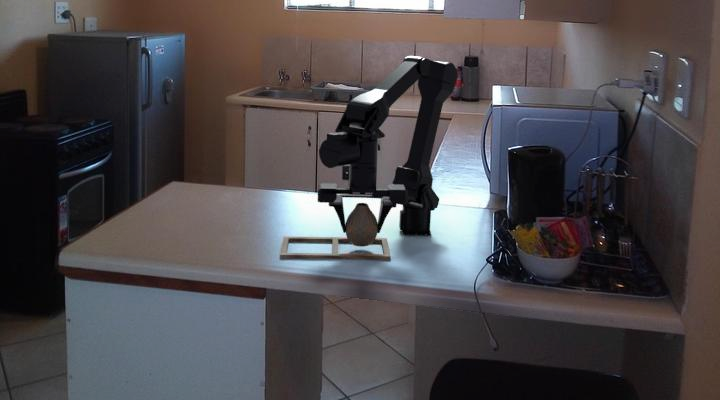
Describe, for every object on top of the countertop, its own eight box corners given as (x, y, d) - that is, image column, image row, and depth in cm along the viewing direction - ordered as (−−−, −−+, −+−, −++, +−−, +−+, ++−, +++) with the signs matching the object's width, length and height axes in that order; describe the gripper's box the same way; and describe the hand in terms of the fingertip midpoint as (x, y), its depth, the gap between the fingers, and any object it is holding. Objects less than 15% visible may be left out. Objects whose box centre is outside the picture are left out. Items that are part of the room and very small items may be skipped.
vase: (358, 236, 168) (360, 198, 166) (383, 243, 164) (385, 204, 161) (338, 243, 163) (339, 204, 160) (363, 251, 159) (364, 210, 156)
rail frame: (386, 241, 170) (386, 237, 169) (390, 260, 158) (390, 255, 158) (283, 239, 169) (283, 235, 168) (279, 258, 157) (279, 254, 157)
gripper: (404, 153, 167) (401, 221, 171) (318, 151, 166) (318, 220, 170) (409, 164, 156) (406, 237, 160) (318, 163, 155) (317, 236, 159)
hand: (361, 232), depth 163 cm, fingers closed on vase, 7 cm apart
